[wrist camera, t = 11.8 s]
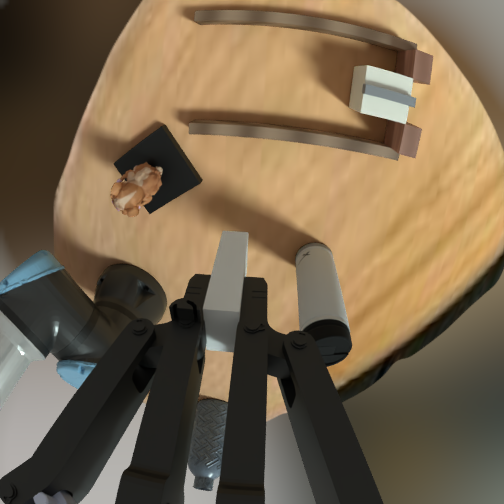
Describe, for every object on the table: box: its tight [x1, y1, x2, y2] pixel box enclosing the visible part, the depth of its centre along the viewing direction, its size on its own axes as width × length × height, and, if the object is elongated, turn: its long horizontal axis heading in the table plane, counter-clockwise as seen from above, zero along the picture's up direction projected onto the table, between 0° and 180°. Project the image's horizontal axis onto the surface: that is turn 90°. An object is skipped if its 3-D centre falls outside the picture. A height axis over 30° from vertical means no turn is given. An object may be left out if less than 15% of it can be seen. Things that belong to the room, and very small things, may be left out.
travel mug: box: [295, 243, 352, 367], centre depth 40 cm, size 6×7×20 cm
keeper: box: [349, 65, 416, 124], centre depth 29 cm, size 6×6×7 cm
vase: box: [188, 399, 228, 491], centre depth 70 cm, size 12×12×28 cm
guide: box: [189, 10, 433, 160], centre depth 30 cm, size 29×17×6 cm, turn 86°
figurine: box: [110, 125, 202, 217], centre depth 37 cm, size 10×10×12 cm
